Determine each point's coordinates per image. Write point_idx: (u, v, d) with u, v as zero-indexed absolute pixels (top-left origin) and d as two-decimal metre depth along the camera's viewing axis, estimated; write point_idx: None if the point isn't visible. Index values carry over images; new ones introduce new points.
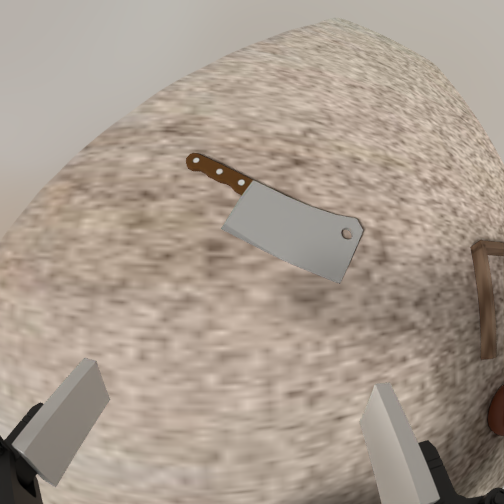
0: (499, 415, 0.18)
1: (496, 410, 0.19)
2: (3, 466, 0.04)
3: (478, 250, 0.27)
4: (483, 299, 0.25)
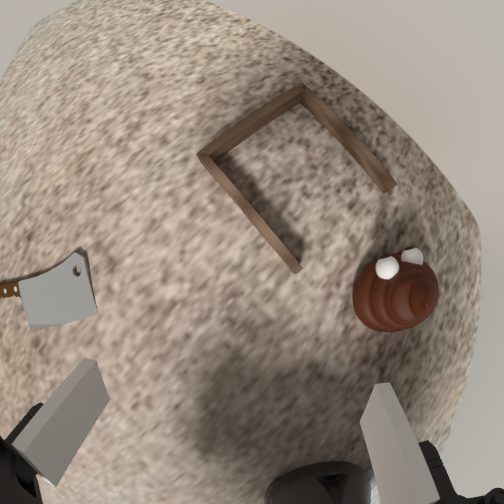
0: (370, 319, 0.25)
1: (361, 315, 0.26)
2: (3, 466, 0.04)
3: (204, 164, 0.27)
4: (244, 211, 0.27)
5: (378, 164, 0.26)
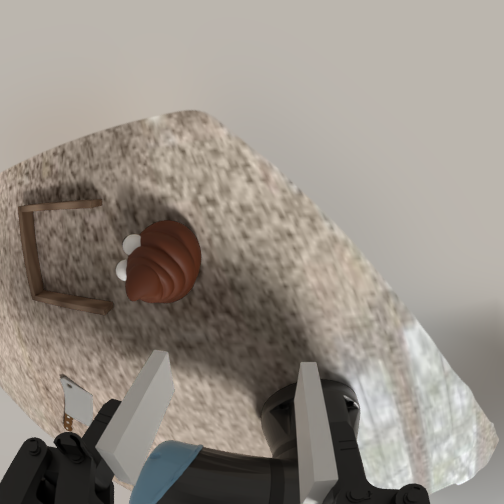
0: None
1: None
2: (80, 475, 0.05)
3: None
4: None
5: (73, 204, 0.28)
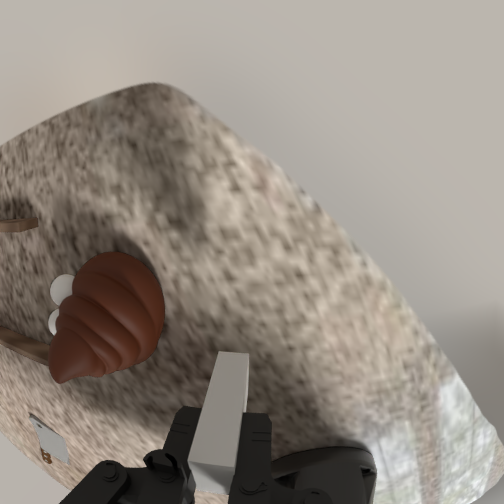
0: None
1: None
2: (168, 496, 0.05)
3: None
4: None
5: (3, 226, 0.17)
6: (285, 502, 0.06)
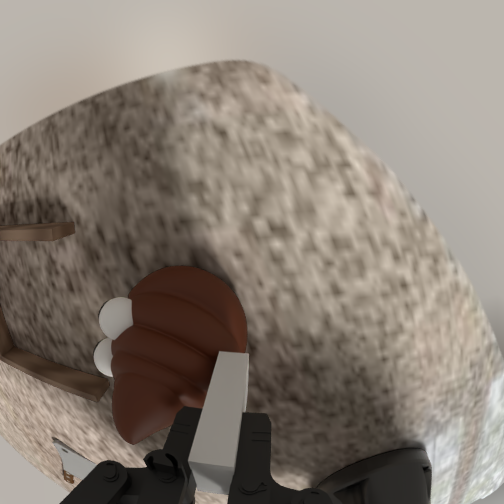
0: None
1: None
2: (169, 496, 0.05)
3: None
4: None
5: (27, 233, 0.14)
6: (285, 502, 0.06)
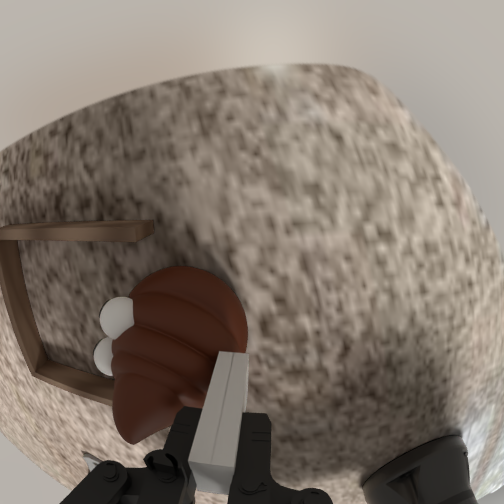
0: None
1: None
2: (169, 496, 0.05)
3: None
4: None
5: (93, 232, 0.14)
6: (285, 502, 0.06)
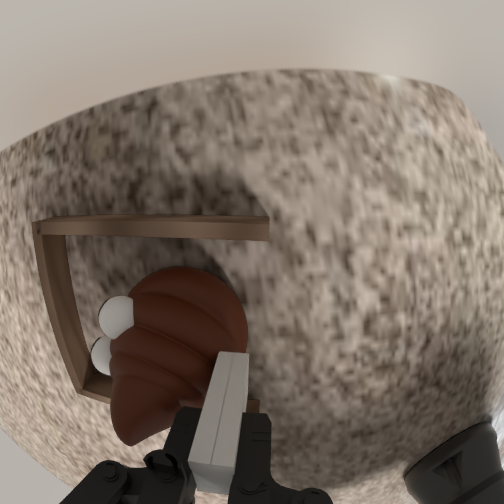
0: None
1: None
2: (168, 496, 0.05)
3: None
4: None
5: (208, 228, 0.13)
6: (285, 502, 0.06)
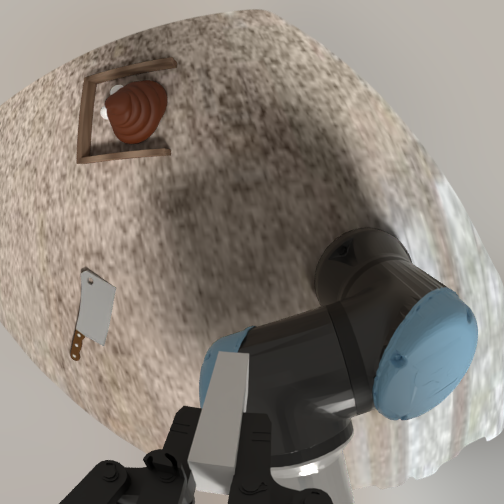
0: (130, 138, 0.33)
1: (126, 142, 0.34)
2: (168, 496, 0.05)
3: (85, 162, 0.35)
4: (119, 158, 0.35)
5: (152, 61, 0.30)
6: (285, 502, 0.06)
